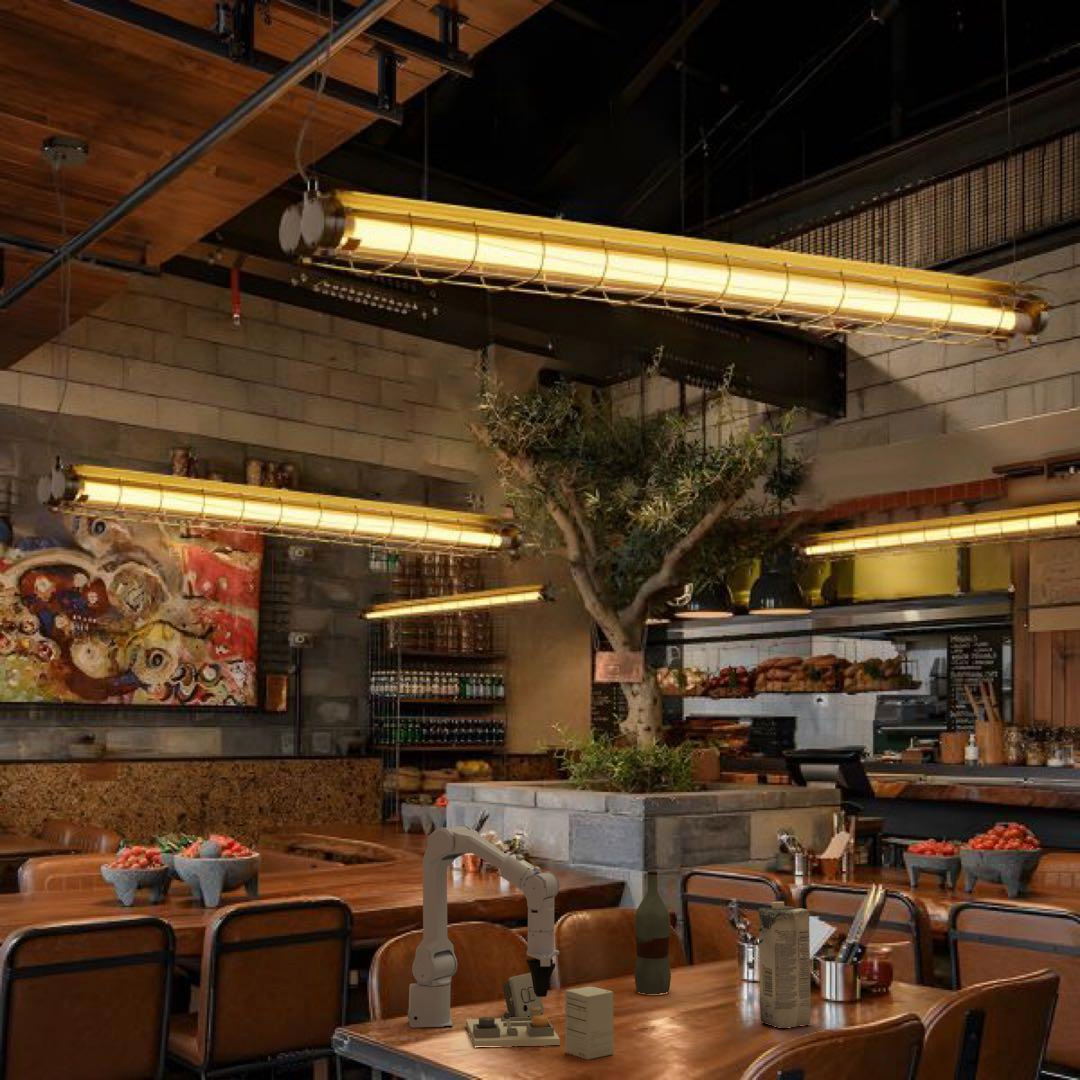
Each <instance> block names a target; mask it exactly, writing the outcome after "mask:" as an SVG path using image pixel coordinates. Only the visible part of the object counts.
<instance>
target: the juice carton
mask: <svg viewBox="0 0 1080 1080" xmlns="http://www.w3.org/2000/svg"><path fill="white" fill-rule="evenodd" d="M810 913H811V912H810V910H809V909H806V908H802V907H797V906H791V905H785V901H772V902H771V907H760V908H758V927H759V928H758V933H759V934H758V938H759V940H758V941H759V942H758V943H759V944H758V946H759V949H758V950H759V955H758V956H759V957H758V958H759V1012H760V1021H762V1022H764V1023H768V1024H771V1025H773V1026H776V1027H780V1028H788V1027H795V1026H800V1025H806V1024H811V1011H812V1009H811V1005H812V1004H811V957H810V956H811V950H810V949H811V945H810ZM762 1022H761V1023H762ZM795 1028H796V1027H795Z"/></svg>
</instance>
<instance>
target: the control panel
mask: <svg viewBox="0 0 1080 1080" xmlns="http://www.w3.org/2000/svg"><path fill="white" fill-rule="evenodd" d="M510 1022H511V1028H512V1030H508V1028H507V1023H506V1019H505V1018H504V1017H500V1018H495V1027H494V1028H480V1027H479V1018H469V1019H467V1018H466V1019H465V1027H466V1026H467V1027H466V1029H467V1028H468V1030H467V1032H468V1031H469V1033H470V1035H469V1037H470V1036H471V1038H472V1040H471V1042H472V1041H473V1043H472V1045H473V1044H474V1045H473V1047H474V1046H536V1045H560V1046H561V1039H560V1036H559V1035H558V1034H557V1032H556V1030H555V1028H554V1027H555V1026H553V1024H552V1021H550V1020H548V1026H546V1027H534V1026H532V1022H531V1020H530V1016H529V1017H516V1016H513V1017H510ZM469 1033H468V1034H469ZM471 1038H470V1039H471Z"/></svg>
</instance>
